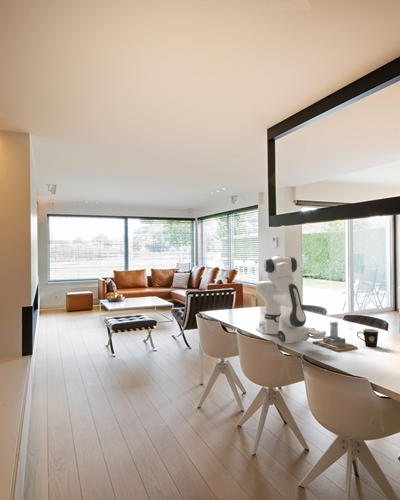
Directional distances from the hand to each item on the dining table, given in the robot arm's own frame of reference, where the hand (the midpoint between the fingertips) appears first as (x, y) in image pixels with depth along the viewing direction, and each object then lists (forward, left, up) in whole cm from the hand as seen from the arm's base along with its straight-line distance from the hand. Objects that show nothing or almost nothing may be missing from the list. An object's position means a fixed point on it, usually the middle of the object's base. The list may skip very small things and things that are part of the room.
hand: (319, 331), depth 211 cm
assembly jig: (0, +12, -11) cm, 16 cm away
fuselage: (0, +12, -9) cm, 15 cm away
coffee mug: (+9, +32, -11) cm, 35 cm away
